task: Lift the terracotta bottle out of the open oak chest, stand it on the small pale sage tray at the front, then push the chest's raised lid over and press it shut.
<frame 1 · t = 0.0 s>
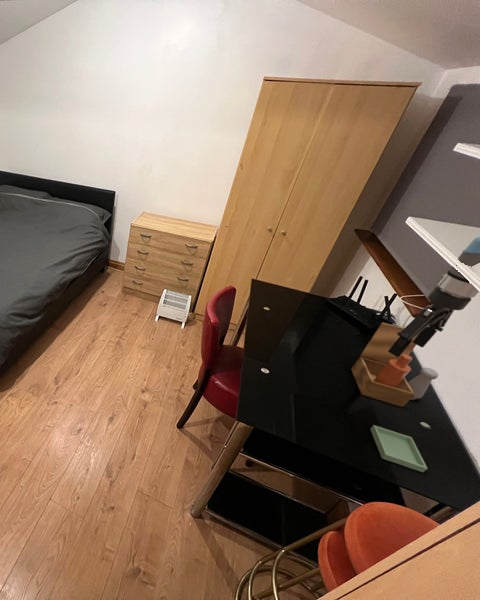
hand: (405, 349, 100), 26 cm above the table, tool pointing down, fingers open, 13 cm apart
chest: (375, 386, 122), on the table
salt shaker: (408, 395, 120), on the table
lid: (391, 344, 120), point 15 cm above the table, hinge at 95.0°
tray: (395, 449, 100), on the table
bottle: (378, 390, 120), point 1 cm above the table, touching chest
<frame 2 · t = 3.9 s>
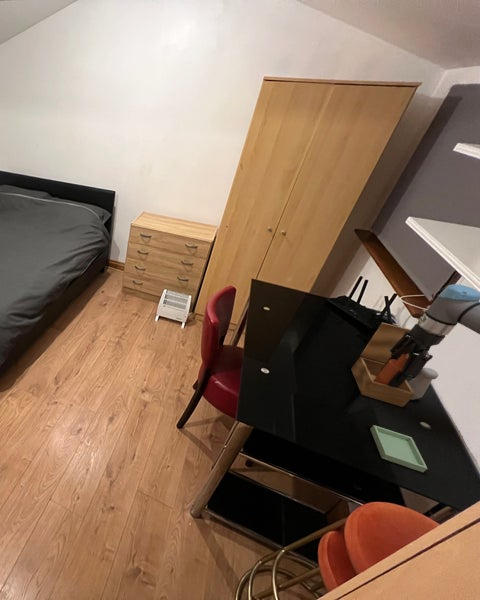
hand: (388, 378, 116), 7 cm above the table, tool pointing down, fingers open, 7 cm apart
nothing on the table moved.
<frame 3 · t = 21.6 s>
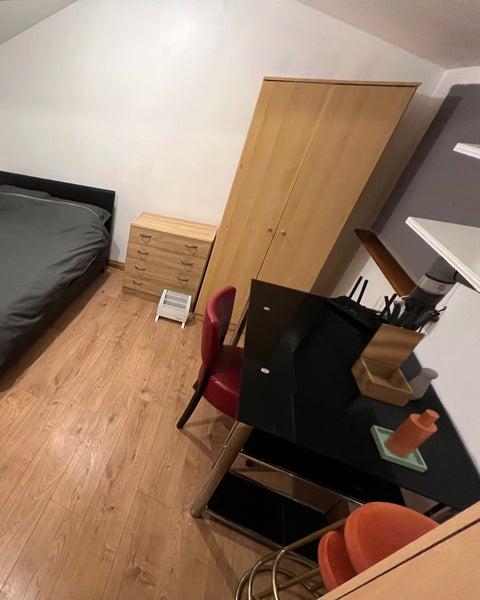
hand: (389, 342, 122), 15 cm above the table, tool pointing down, fingers closed
lid: (391, 345, 120), point 15 cm above the table, hinge at 92.4°, touching gripper
bottle: (396, 448, 100), point 1 cm above the table, touching tray
everything else where it was.
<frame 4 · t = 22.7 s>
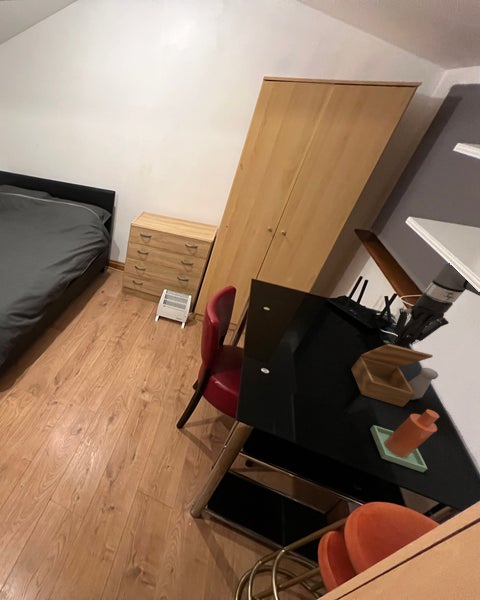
hand: (394, 351, 118), 15 cm above the table, tool pointing down, fingers closed
lid: (394, 355, 117), point 14 cm above the table, hinge at 55.3°, touching gripper
everything else where it was.
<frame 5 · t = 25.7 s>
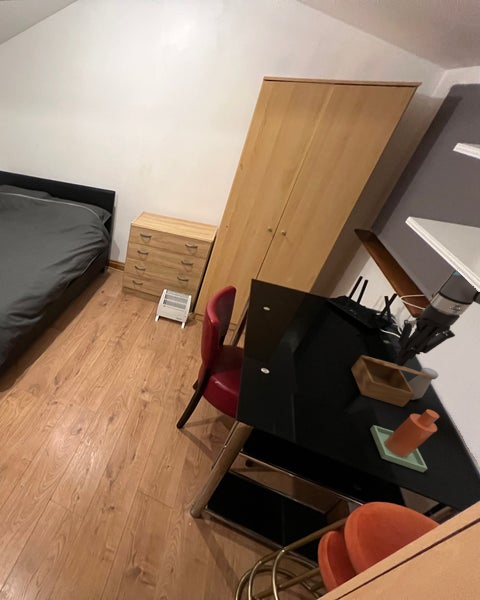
hand: (398, 363, 114), 14 cm above the table, tool pointing down, fingers closed
lid: (392, 365, 117), point 11 cm above the table, hinge at 28.7°, touching gripper
everything else where it was.
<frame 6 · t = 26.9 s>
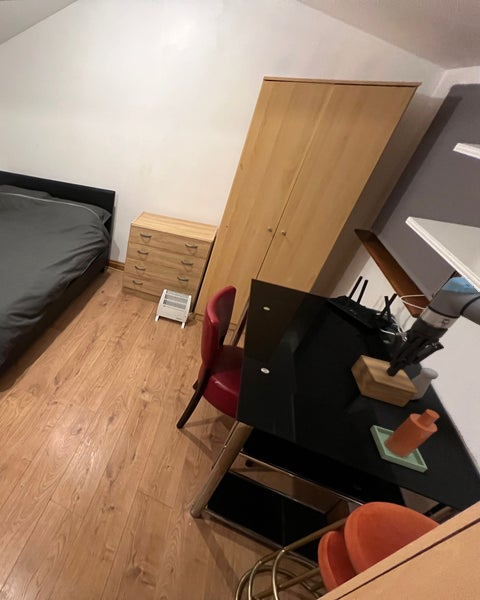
hand: (389, 373, 117), 8 cm above the table, tool pointing down, fingers closed
lid: (387, 373, 118), point 8 cm above the table, hinge at 3.0°, touching gripper
everything else where it was.
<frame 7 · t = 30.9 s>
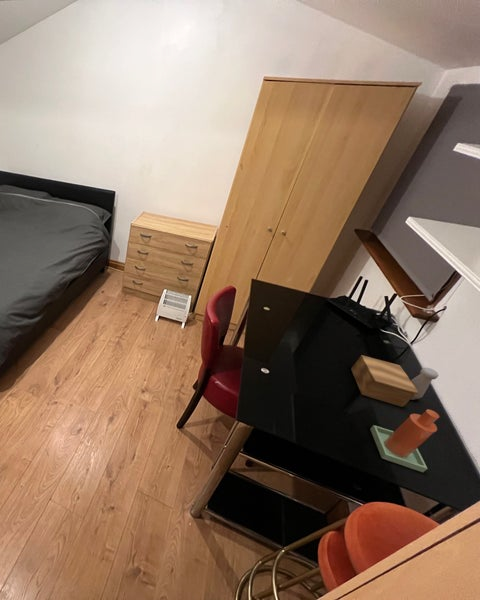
lid: (387, 373, 118), point 8 cm above the table, hinge at 2.9°
everything else where it was.
at the end: bottle 0.0 cm off-centre in the tray, point 0.6 cm above the tray's base; bottle tilted 0°; lid at +3° (first picture: +95°) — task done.
